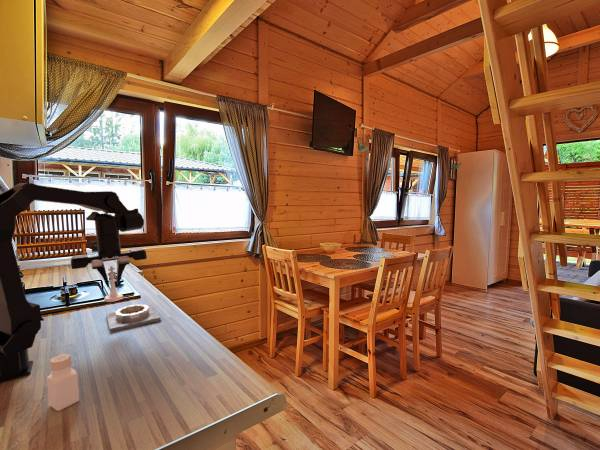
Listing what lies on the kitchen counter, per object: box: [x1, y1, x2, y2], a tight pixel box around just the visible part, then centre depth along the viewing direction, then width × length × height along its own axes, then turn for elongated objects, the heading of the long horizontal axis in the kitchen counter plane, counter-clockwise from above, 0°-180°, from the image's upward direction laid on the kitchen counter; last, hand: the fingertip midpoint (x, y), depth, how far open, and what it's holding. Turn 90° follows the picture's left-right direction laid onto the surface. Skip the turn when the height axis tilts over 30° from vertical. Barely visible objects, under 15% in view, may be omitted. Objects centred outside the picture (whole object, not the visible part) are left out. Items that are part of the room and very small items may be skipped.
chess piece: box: [103, 266, 124, 303], centre depth 93 cm, size 5×5×10 cm
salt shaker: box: [46, 353, 80, 412], centre depth 61 cm, size 4×4×10 cm
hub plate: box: [105, 303, 162, 333], centre depth 102 cm, size 14×14×3 cm
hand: (113, 285), depth 93 cm, fingers closed on chess piece, 2 cm apart
